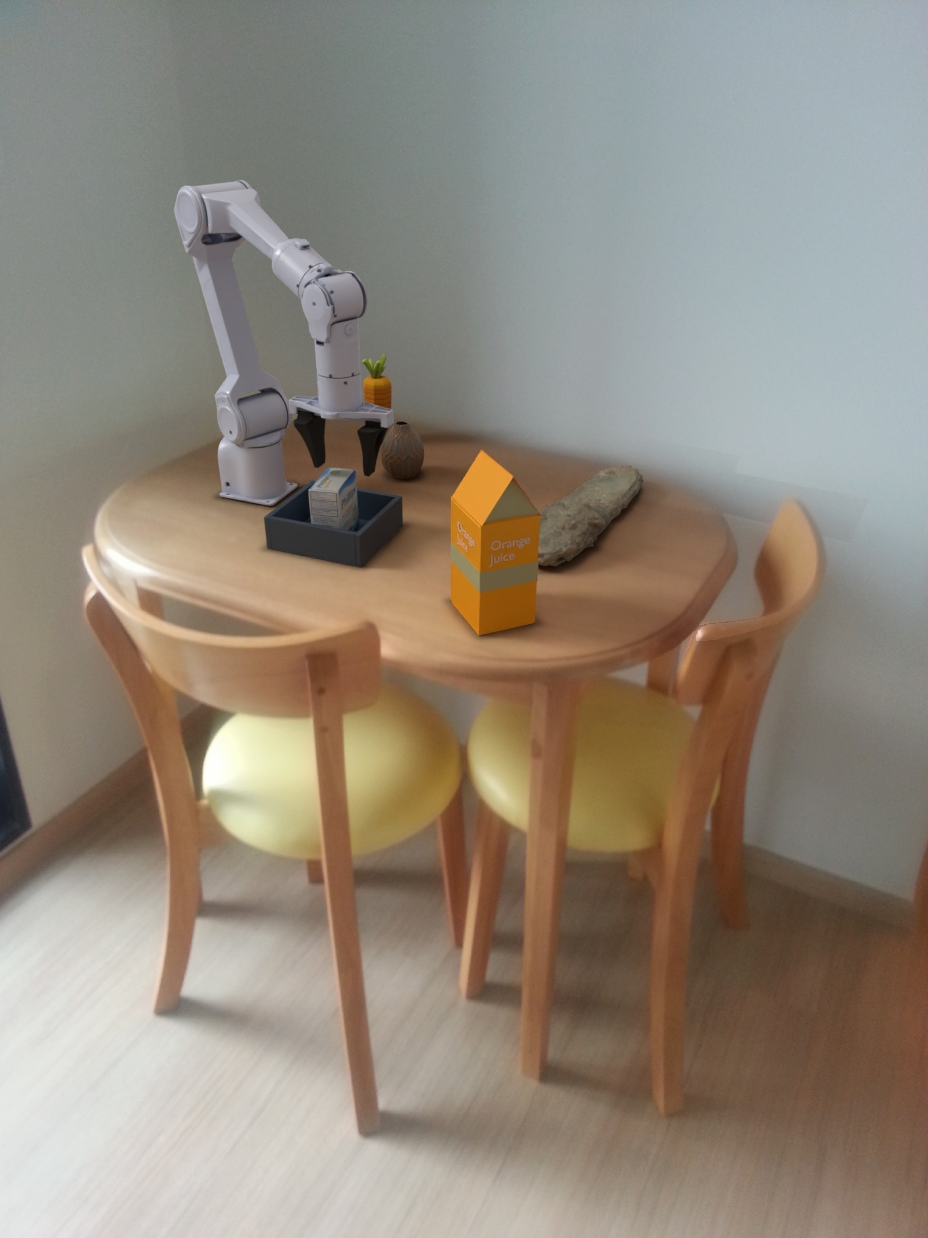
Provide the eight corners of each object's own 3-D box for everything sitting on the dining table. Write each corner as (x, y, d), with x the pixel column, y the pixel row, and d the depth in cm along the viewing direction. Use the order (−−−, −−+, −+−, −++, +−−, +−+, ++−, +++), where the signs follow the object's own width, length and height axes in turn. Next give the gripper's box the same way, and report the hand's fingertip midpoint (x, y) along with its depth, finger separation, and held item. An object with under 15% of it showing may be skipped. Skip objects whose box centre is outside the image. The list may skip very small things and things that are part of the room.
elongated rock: (657, 495, 153) (598, 485, 158) (659, 463, 151) (600, 454, 155) (570, 577, 126) (502, 563, 130) (572, 540, 124) (503, 527, 128)
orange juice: (478, 636, 115) (481, 481, 105) (449, 601, 122) (449, 452, 111) (536, 622, 118) (545, 470, 107) (505, 589, 125) (510, 443, 114)
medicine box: (343, 549, 133) (339, 491, 129) (312, 545, 134) (307, 488, 129) (359, 524, 140) (356, 468, 135) (330, 521, 140) (326, 466, 136)
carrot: (361, 444, 167) (357, 358, 159) (369, 434, 171) (365, 350, 163) (389, 446, 166) (387, 360, 158) (396, 436, 170) (393, 352, 163)
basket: (266, 548, 134) (263, 517, 131) (314, 509, 145) (312, 479, 142) (361, 567, 129) (359, 535, 127) (403, 526, 140) (402, 495, 138)
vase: (432, 472, 157) (432, 420, 152) (408, 486, 152) (406, 433, 147) (398, 463, 160) (396, 412, 156) (373, 476, 155) (370, 424, 151)
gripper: (274, 373, 124) (283, 471, 131) (376, 387, 120) (380, 488, 127) (300, 358, 130) (308, 453, 137) (399, 371, 125) (401, 468, 132)
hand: (344, 469), depth 132 cm, fingers open, 7 cm apart
